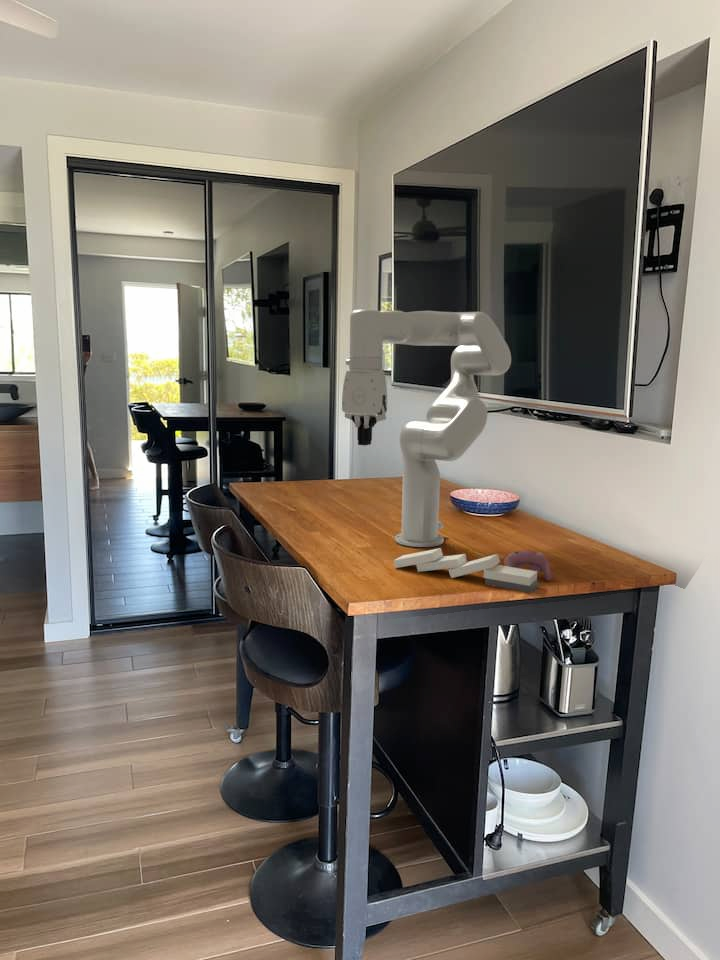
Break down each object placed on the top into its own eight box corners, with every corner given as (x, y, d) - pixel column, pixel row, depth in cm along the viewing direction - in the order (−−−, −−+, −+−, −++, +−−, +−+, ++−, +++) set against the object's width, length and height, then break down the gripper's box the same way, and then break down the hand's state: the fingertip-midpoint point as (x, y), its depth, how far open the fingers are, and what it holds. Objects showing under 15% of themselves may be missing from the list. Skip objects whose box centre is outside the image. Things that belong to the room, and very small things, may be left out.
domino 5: (485, 578, 152) (531, 586, 147) (493, 572, 157) (538, 580, 151) (484, 586, 153) (530, 594, 148) (493, 580, 157) (538, 588, 152)
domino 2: (416, 564, 161) (457, 559, 156) (425, 558, 165) (465, 553, 160) (417, 571, 161) (458, 567, 156) (426, 566, 165) (466, 561, 160)
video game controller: (547, 583, 159) (545, 552, 161) (553, 580, 155) (550, 548, 157) (503, 583, 159) (501, 552, 161) (507, 579, 154) (505, 547, 156)
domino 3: (448, 570, 157) (489, 559, 152) (456, 564, 161) (497, 553, 156) (451, 578, 156) (492, 567, 151) (459, 572, 161) (500, 561, 156)
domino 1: (393, 560, 163) (432, 553, 158) (402, 555, 168) (440, 547, 162) (395, 568, 163) (434, 560, 158) (404, 562, 168) (443, 555, 162)
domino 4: (483, 569, 152) (530, 577, 147) (492, 564, 157) (537, 571, 152) (483, 577, 153) (529, 585, 148) (491, 571, 157) (536, 579, 152)
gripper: (329, 364, 165) (329, 443, 168) (385, 365, 157) (383, 448, 160) (348, 364, 172) (347, 440, 175) (402, 365, 164) (400, 445, 167)
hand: (364, 444), depth 168 cm, fingers closed
